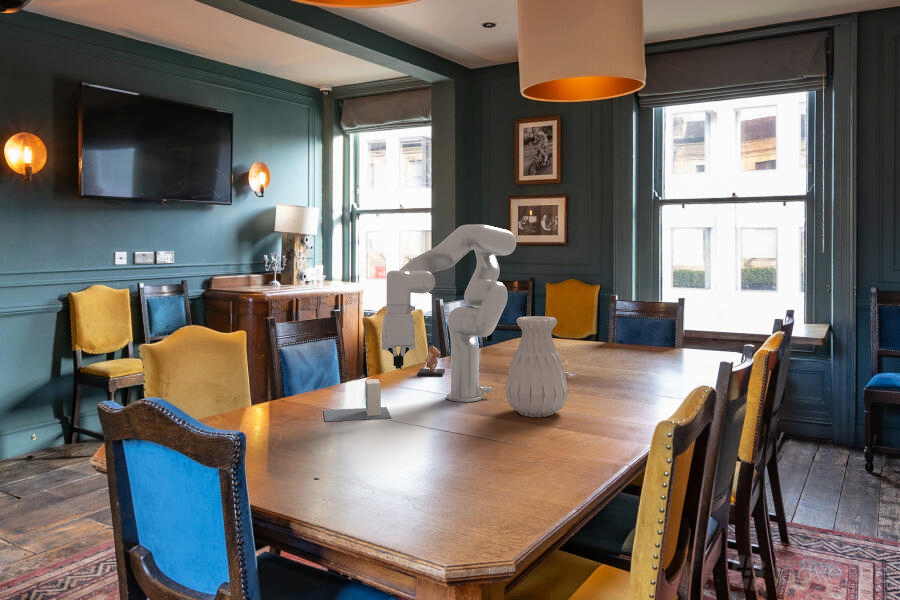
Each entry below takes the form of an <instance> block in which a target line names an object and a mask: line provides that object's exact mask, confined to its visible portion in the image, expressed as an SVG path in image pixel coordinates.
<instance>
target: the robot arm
mask: <svg viewBox="0 0 900 600" xmlns="http://www.w3.org/2000/svg"><path fill="white" fill-rule="evenodd" d="M516 247H517V240H516V237H515V235H514V234H513V232H511V231H509V230H507V229H504V228H503V229H502V228H499V227H494V226H491V225H488V224H482V223H480V224H477V223H476V224H463V225H462V224H461V225H460V226H458V227H457V228H455V230H454V231H453V232H451V233H450V234H449V235H448V236H447V237H446V238H445V239H443V240H442V241H441V242H440V243H439V244H438V245H436V246H435V247H433V248H430V249H428V250H427V251H424V252H423V253H421V254H418V255H417V256H415V257H414V258H412V259H411V260H409V261H408V262H407V263H406V264H405V265H403V266H402V267H401V268H400V269H399V270H389V271H388V272H387V273H386V313H384V314H383V317H382V318H383V319H382V328H381V348H380V349H381V350H383V351H385V352H389V353H390V354H392V356H393V357H392V358H393V360H392V361H393V366H394V367H395V369H396V370H398V369H399V370H401V369H402V368H403V366H404V356H405V355H406V354H407V353H408V352H409V351H413V350H415V349H416V331H415V330H416V329H415V320H414V315H413V314H412V312H414V311H416V306H413V305H412V303H411V301H412V299H411V296H412V295H411V294H422V295H423V294H427V293H429V292H431V291H432V290H433V289H434V288H435V286H436V278H435V276H434V275H433V273H435V272H436V273H437V272H440V271H444V270H447V269H450V268H453V267H454V266H455V265H456V264H457V263H458V262H459V261H460V260H461V259H462V258H463V257H465V256H466V255H467V254H468V253H469V252H470V251H474V254H475V258H476V267H475V270H474V272H473V274H472V276H471V278H470V280H469V282H468V285H467V287H466V289H465V291H464V294H463V299H464V302H465V303H466V304H467V305H468V306H459V307H455V308H453V309H452V310H451V311H450V312H449V314H448V318H447V328H448V332H449V337H450V392H449V393H447V394H446V399H447V400H449V401H453V402H456V403H457V402H459V403H471V402H479V401H481V400H482V399H484V393H489V394H490V393H493V386H481V384H479V383H480V382H479V381H480V380H479V379H480V378H479V371H480V370H479V366H480V363H479V358H480V357H479V353H480V350H479V342H478V340H477V338H476V337H479V338H485V337H488V336H491V335H492V333H493V332H494V330H495V329H496V327H497V325H498V323H499V320H500V319H501V317H502V314H503V312H504V309H505V308H506V305H507V302H508V297H509V296H508V289H507V286H505V284H503V282H501V281H498V279H499V277H500V270H501V269H500V265H499V262H498V259H497V256H508V255H511V254H512V253H513V252H514V251H515V249H516ZM397 347H400V348H399V349H400V350H399V353H398V351H397Z"/></svg>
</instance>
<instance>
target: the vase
mask: <svg viewBox="0 0 900 600" xmlns="http://www.w3.org/2000/svg"><path fill="white" fill-rule="evenodd" d="M516 323H517V325H518V327H519V328H520V330H521V337H520V338H521V339H520V341H519V344H518V347H517V349H516V350H515V352H514V354H513V356H512V359H511V362H510V364H509V367H508V370H507V371H508V374H507V378H506V381H505V385H504V392H505V395H506V398H507V402H508V405H509V406H510V407H511V408H512V410H514V411H516V412H518V414H520V415H522V416H525V417H530V418H536V417H537V418H544V417H550V416H552V415H554V414H555V413H557V412H558V411H560V410H561V409H562V408H563V407H564V406H565V403H566V401H567V397H568V394H569V386H568V382H567V379H566V378H567V377H566V370H565V366H564V364H563V362H562V359H561V355H560V353H559V352H558V350H557V348H556V346H555V343H554V341H553V336H552V333H553V332H552V331H553V329H554V328H555V327H556V325H557V324H558V319H557V318H556V317H551V316H543V315H541V316H538V315H537V316H535V315H534V316H529V315H528V316H520V317H519V316H518V317H517V319H516Z"/></svg>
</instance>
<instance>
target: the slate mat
mask: <svg viewBox="0 0 900 600" xmlns="http://www.w3.org/2000/svg"><path fill="white" fill-rule="evenodd" d="M323 415H324V422H325V423H330V422H331V423H332V422H351V421H365V420H366V421H369V420H387V419H389V420H390V419H392V416H391V414H390V412H389V410H388V407H387V406H381V415H375V416H368V415H367V412H366V407H360V408H342V409H341V408H339V409H324V410H323Z"/></svg>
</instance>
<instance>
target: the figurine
mask: <svg viewBox="0 0 900 600" xmlns="http://www.w3.org/2000/svg"><path fill="white" fill-rule="evenodd" d="M440 357H441V351H440V350H439V349H438V348H437V347H435V346H434V344H433V345H432V346H429V347H428V348H427V357H426V359H425V362H426V365H425V367H426V368H420V369H419V371H417V377H425V378H427V377H428V378H429V377H430V378H433V377H434V378H435V377H436V378H437V377H438V378H441V377H442V378H443V376H444V375H445V373H446V368H437V366H438V365H439V364H438V363H439V361H438V360H439V359H440Z"/></svg>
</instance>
